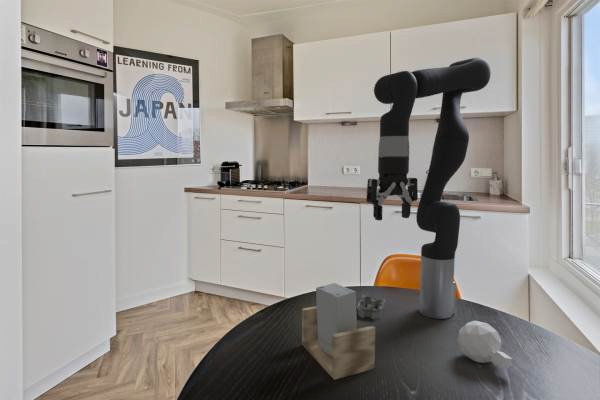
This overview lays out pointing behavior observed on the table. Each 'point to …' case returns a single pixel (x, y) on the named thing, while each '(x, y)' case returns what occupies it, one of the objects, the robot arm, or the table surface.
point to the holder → (340, 347)
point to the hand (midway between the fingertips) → (392, 218)
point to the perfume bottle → (482, 344)
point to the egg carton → (370, 307)
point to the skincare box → (334, 313)
